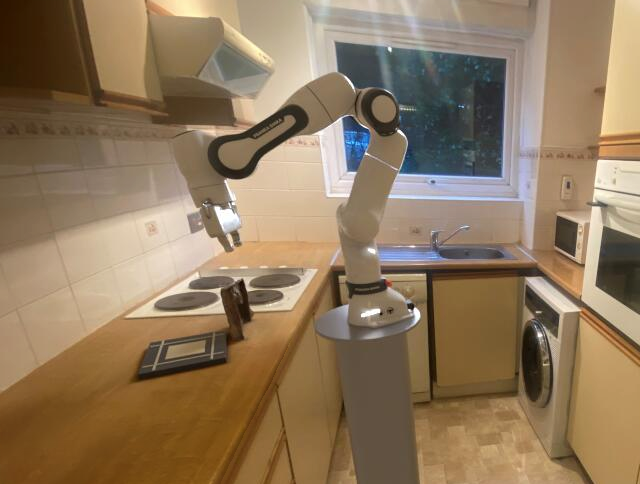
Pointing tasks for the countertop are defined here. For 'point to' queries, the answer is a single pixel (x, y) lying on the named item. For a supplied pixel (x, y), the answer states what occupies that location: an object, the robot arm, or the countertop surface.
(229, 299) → the mineral sample
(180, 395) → the countertop surface
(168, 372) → the board
